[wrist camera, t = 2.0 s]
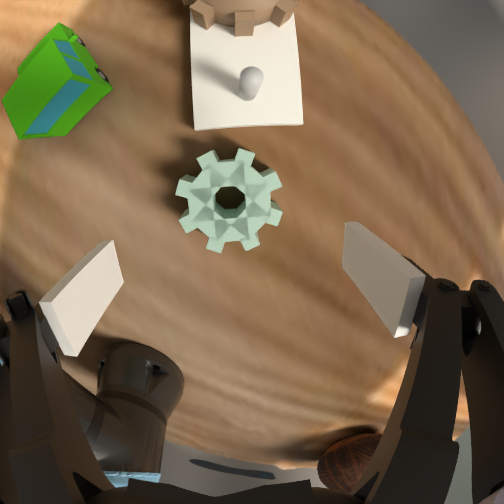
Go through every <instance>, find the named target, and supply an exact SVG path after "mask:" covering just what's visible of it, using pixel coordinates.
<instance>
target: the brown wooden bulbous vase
mask: <svg viewBox="0 0 504 504" xmlns="http://www.w3.org/2000/svg"><path fill="white" fill-rule="evenodd" d="M382 435H383V434H369V433H361V434H356V435H354V436H351V437H348V438H345V439H343V440H341V441H338V442H336V443H334V444H333V445H331V446H330V447H329V448H328V449H327V451H326V452H325V453H324V455H323V456H322V457H321V459H320V460H319V462H318V466H317V470H318V475H319V478H320V480H321V482H322V483H323V484H324V485H325V486H326V487H327V488H329V489H333V490H338V491H342V492H345V493H348V494H350V493H351V492H352V490H353V489H354V487H355V485H356V484H357V482H358V481H359V480H360V478H361V477H362V475H363V474H364V472H365V470H366V468H367V467H368V465H369V463H370V461H371V459H372V457H373V455H374V453H375V450H376V448H377V446H378V444H379V442H380V440H381V437H382Z"/></svg>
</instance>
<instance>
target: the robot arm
mask: <svg viewBox="0 0 504 504" xmlns="http://www.w3.org/2000/svg"><path fill="white" fill-rule="evenodd" d="M342 268H343V269H344V270H345V272H346V273H347V274H348V275H349V277H350V278H351V279H352V281H353V282H354V283H355V285H356V286H357V287H358V288H359V290H360V291H361V292H362V294H363V295H364V296H365V298H366V299H367V301H368V302H369V303H370V305H371V306H372V307H373V309H374V310H375V311H376V313H377V314H378V316H379V317H380V318H381V320H382V321H383V323H384V324H385V325H386V327H387V328H388V330H389V331H390V332H391V334H392V335H393V337H394V338H396V337H400V336H404V335H408V334H409V332H410V329H411V326H412V323H414V324H415V325H416V326H417V331H416V334H415V336H414V339H413V342H412V344H411V347H410V349H412V350H411V353H410V357H409V361H408V364H407V368H406V371H405V375H404V378H403V381H402V384H401V387H400V390H399V393H398V396H397V399H396V402H395V405H394V408H393V410H392V413H391V415H390V418H389V421H388V423H387V425H386V428H385V430H384V433H383V435H382V437H381V440H380V442H379V444H378V446H377V448H376V450H375V453H374V455H373V457H372V459H371V461H370V463H369V465H368V467H367V468H366V470H365V472H364V474H363V475H362V477H361V478H360V480H359V481H358V482H357V484H356V485H355V487H354V489H353V490H352V492H351V493H350V494H348V493H345V492H342V491H338V490H333V489H328V488H320V487H311V483H310V479H309V480H303V481H296V482H290V483H282V484H273V485H263V486H260V487H256V488H253V489H249V490H245V491H241V492H237V493H233V494H229V495H224V496H218V497H212V496H208V495H204V494H200V493H196V492H193V491H189V490H186V489H183V488H179V487H176V486H173V485H170V484H165V483H158V482H159V477H160V476H161V474H160V469H161V461H162V453H163V446H164V439H165V432H166V425H167V420H168V418H169V417H170V415H171V414H172V412H173V410H174V409H175V407H176V406H177V404H178V402H179V401H180V399H181V397H182V394H183V389H184V377H183V374H182V372H181V371H180V369H179V368H178V367H177V365H176V364H175V363H174V362H173V361H172V360H170V359H169V358H168V357H167V356H165V355H164V354H162V353H160V352H158V351H156V350H154V349H152V348H149V347H147V346H144V345H140V344H135V343H117V344H113V345H111V346H109V347H108V348H107V349H105V351H104V352H103V354H102V356H101V358H100V360H99V363H98V371H97V394H96V396H95V395H94V394H92V393H91V392H90V391H89V390H87V389H86V388H85V387H83V386H82V385H81V384H80V383H78V382H77V381H76V380H75V379H74V378H72V377H71V376H70V375H69V374H68V373H66V372H65V371H64V370H63V369H62V367H61V363H60V359H59V356H58V354H57V352H56V351H55V350H56V348H57V347H58V345H59V346H60V348H61V350H62V351H63V353H64V355H68V356H75V357H77V356H78V354H79V353H80V351H81V349H82V348H83V346H84V344H85V342H86V341H87V339H88V337H89V336H90V334H91V332H92V331H93V329H94V327H95V326H96V324H97V323H98V321H99V319H100V318H101V316H102V315H103V313H104V311H105V310H106V308H107V307H108V305H109V304H110V302H111V301H112V299H113V298H114V296H115V295H116V293H117V292H118V290H119V289H120V287H121V286H122V284H123V283H124V281H123V278H122V274H121V270H120V267H119V263H118V259H117V255H116V251H115V246H114V242H113V240H106V241H101V242H100V243H99V244H98V245H97V246H96V247H95V248H93V249H92V250H91V251H90V252H89V253H88V254H87V255H86V256H85V257H83V258H82V259H81V260H80V261H79V262H78V263H77V264H76V265H75V266H74V267H73V268H72V269H71V270H70V271H69V272H68V273H67V274H65V275H64V276H63V277H62V278H61V279H60V280H59V281H58V282H57V283H56V284H55V285H54V286H53V287H52V288H51V289H50V290H49V292H48V293H47V294H46V295H45V296H44V297H43V298H42V299H41V300H40V301H39V303H38V304H37V305H36V307H35V308H34V306H33V304H32V301H31V299H30V296H29V294H28V291H27V290H25V289H22V290H18V291H15V292H14V293H12V294H10V295H9V296H8V297H7V298H6V299H5V301H4V304H5V306H6V308H7V310H8V312H9V315H10V317H11V319H12V321H9V322H5V320H4V318H3V316H2V314H1V313H0V504H444V502H445V499H446V496H447V493H448V490H449V487H450V484H451V481H452V478H453V474H454V470H455V466H456V463H457V459H458V454H459V444H458V442H455V441H453V440H452V434H453V429H454V424H455V418H456V412H457V405H458V397H459V388H460V377H461V370H462V375H463V380H464V385H465V391H466V397H467V404H468V412H469V420H470V431H471V446H472V498H473V504H504V302H503V300H502V298H501V297H500V295H499V293H498V292H497V290H496V289H495V288H494V286H493V285H491V284H490V283H489V282H487V281H485V280H474V281H473V282H472V284H471V287H470V290H469V291H466V290H460V289H459V287H458V286H457V285H456V284H455V283H454V282H452V281H450V280H447V279H443V278H437V279H433V278H432V277H431V276H430V275H429V274H428V273H426V272H425V271H424V270H423V269H421V268H420V267H419V266H418V265H416V263H414V262H413V261H412V260H411V259H409V258H407V257H405V256H402V255H400V254H399V253H398V252H397V251H395V250H394V249H393V248H391V247H390V246H389V245H388V244H386V243H385V242H384V241H383V240H381V239H380V238H379V237H377V236H376V235H375V234H373V233H372V232H371V231H369V230H368V229H367V228H365V227H364V226H363V225H361V224H360V223H359V222H345V233H344V247H343V259H342Z"/></svg>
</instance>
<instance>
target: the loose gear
mask: <svg viewBox="0 0 504 504" xmlns="http://www.w3.org/2000/svg"><path fill="white" fill-rule="evenodd" d="M254 156H255V153H253V152H250V151H247V150H244V149H241V148H238V150H237V153H236V156H235V159H226V160H220V159H219V157H218V155H217V153H216V152H215V150H212V151H210V152H208V153H206V154H204V155H202V156H200V157H198V158H196V159H197V161H198V162H199V164H200V166H201V168H202V170H203V171H202V172H201V173H200V174H199V175H198V177H193V176H190V175H185V176H184V177H182V178H181V179H179V183H178V186H177V190H176V194H175V195H177V196H181V197H184V198H188V205H189V209H187V210H185V211H184V213H183V214H182V216H181V217H180V219H179V222H180V223H181V225H182V227H183V229H184V230H185V232H186V233H188V232H190V231H192V230H194V229H196V228H198V229H200V230H201V231H202V232H203V233H205V234H206V235H207V236H208V237H209V239H208V243H207V247H206V249H209V250H212V251H215V252H219V253H221V252H222V249H223V246H224V243H225V242H230V241H241V243H242V245H243V247H244V248H245V250H246V251H248V250H250V249H252V248H254V247H256V246H258V245H260V242H259V238H258V234H257V231H258V230H259V229H260V228H261V226H262V225H263V224H264V223H268V224H272V225H275V226H278V223H279V221H280V218H281V216H282V213H283V211H282V210H281V208H280V207H279V205H278V204H277V203H275V202H273V201H270V192H271V191H273V190H275V189H277V188H279V187H282V185H281V182H280V180H279V178H278V176H277V174H276V172H275V171H274V170H273V169H271V168H268V169H266V170H264V171H262V172H260V173H259V172H258V171H257V170H256V169H254V168H253V167H252V166H251V164H252V161H253V158H254ZM228 186H236V187H237V188H238V189H239V190H240V191H242V192H243V193H244V197H245V200H244V201H243V202H242V203H241V204H240V205H239V207H238V208H235V209H224V208H223V207H222V206H220V205H219V204H218V203H217V202H216V196H215V193H216V192H217V191H218V190H219V189H220V188H221V187H228Z"/></svg>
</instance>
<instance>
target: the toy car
mask: <svg viewBox="0 0 504 504" xmlns="http://www.w3.org/2000/svg"><path fill="white" fill-rule="evenodd" d="M17 70H18V74H19V77H18V78H17V79H16V81H15V82H14V83H13V85H12V86H11V88H10V89H9V90H8V92H7V93H6V95H5V96H4V98H3V99H2V103H3V105H4V107H5V110H6V112H7V115H8V117H9V119H10V121H11V124H12V126H13V128H14V130H15V132H16V134H17V136H18V138H19V140H21V139H30V138H41V137H53V136H66V135H67V134H68V133H69V132H70V130H71V129H72V128H73V127H74V126H75V125H76V124H77V123H78V122H79V121H80V120H81V119H82V118H83V117H84V116H85V115H86V114H87V113H88V112H89V111H90V110H91V109H92V108H93V107H94V106H95V105H96V104H97V103H98V102H99V101H100V100H101V99H102V98H103V97H104V96H105V95H107V94H108V93H109V92H110V91H111V90H112V89H113V88H112V86H111V85H110V83H109V80H108V79H107V77H106V76H105V74H104V73H103V72H102V71H101V70H99V69H98V65H97V64H96V62H95V61H94V59H93V58H92V56H91V55H90V53H89V52H88V50H87V49H86V47H85V44H84V43H83V41H82V40H81V39H80V38H79V36H77V35H76V34H75V33H74V31H73V30H72V29H70V28H68V27H66V26H65V25H63V24H61V23H58V24H57V25H56V26H55V27H54V28H53V29H52V30H51V31H50V32H49V33H48V34H47V35H46V36H45V37H44V38H43V39H42V40H41V41H40V42H39V44H38V45H37V46H36V47H35V48H34V49H33V50H32V51H31V53H30V54H29V55H28V56H27V57H26V59H25V60H24V61H23V62H22V64H21V65H20V66H19V67H18V69H17Z"/></svg>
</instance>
